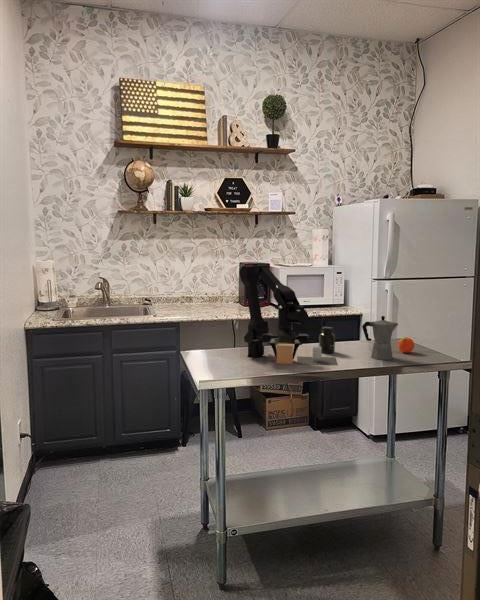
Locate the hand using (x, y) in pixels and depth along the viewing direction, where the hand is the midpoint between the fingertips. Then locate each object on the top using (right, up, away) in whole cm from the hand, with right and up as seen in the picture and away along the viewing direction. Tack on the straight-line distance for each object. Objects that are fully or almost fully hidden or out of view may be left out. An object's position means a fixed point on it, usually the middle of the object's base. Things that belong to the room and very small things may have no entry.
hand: (284, 359), depth 208 cm
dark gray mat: (+13, -2, +2) cm, 14 cm away
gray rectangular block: (+13, -1, +2) cm, 13 cm away
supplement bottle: (+20, 0, +18) cm, 27 cm away
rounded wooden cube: (0, -1, 0) cm, 1 cm away
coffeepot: (+42, -1, +12) cm, 43 cm away
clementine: (+56, 0, +21) cm, 60 cm away
